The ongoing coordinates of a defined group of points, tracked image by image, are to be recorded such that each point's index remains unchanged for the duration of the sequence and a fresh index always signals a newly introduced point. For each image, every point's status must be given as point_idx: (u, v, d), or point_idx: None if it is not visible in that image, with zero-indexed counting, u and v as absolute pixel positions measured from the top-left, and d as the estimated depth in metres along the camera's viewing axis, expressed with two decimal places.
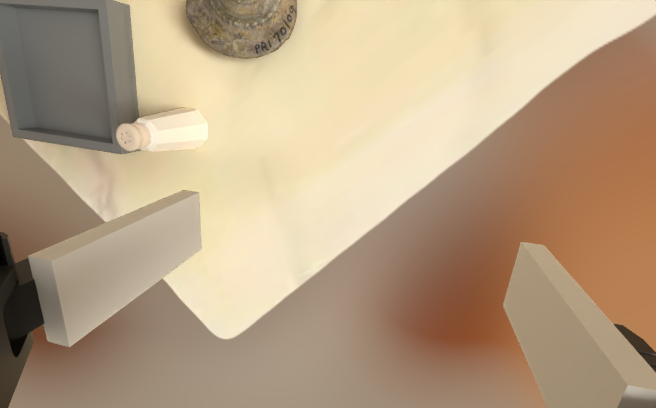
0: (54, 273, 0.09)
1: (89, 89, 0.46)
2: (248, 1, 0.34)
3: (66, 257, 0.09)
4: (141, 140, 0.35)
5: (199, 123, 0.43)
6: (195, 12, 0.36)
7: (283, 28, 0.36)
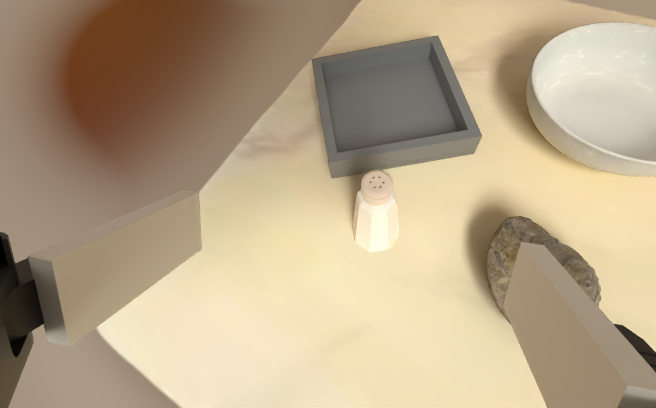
0: (54, 273, 0.09)
1: (380, 123, 0.45)
2: None
3: (66, 257, 0.09)
4: (378, 199, 0.30)
5: (388, 243, 0.37)
6: (517, 228, 0.34)
7: None
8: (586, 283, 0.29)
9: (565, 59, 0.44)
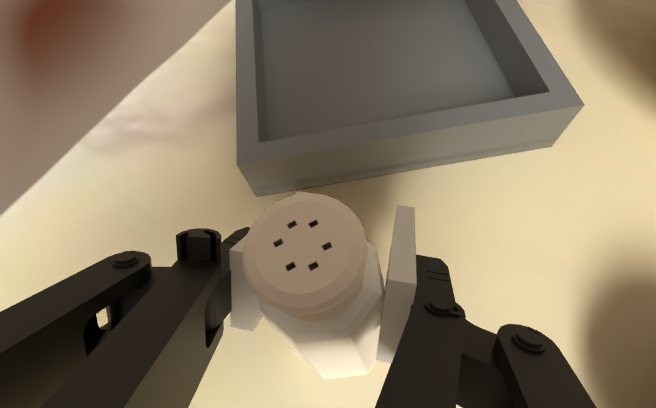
0: None
1: (358, 86, 0.23)
2: None
3: None
4: (305, 313, 0.07)
5: (368, 368, 0.15)
6: None
7: None
8: None
9: None
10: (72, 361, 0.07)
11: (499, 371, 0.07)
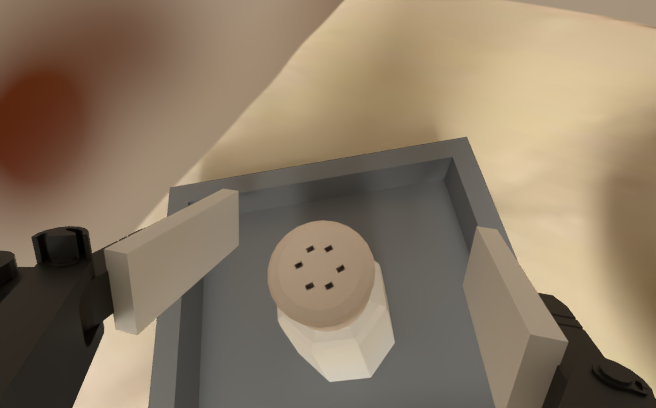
0: (128, 265, 0.10)
1: (320, 380, 0.17)
2: None
3: (137, 250, 0.10)
4: (321, 326, 0.09)
5: (371, 371, 0.16)
6: None
7: None
8: None
9: None
10: None
11: None
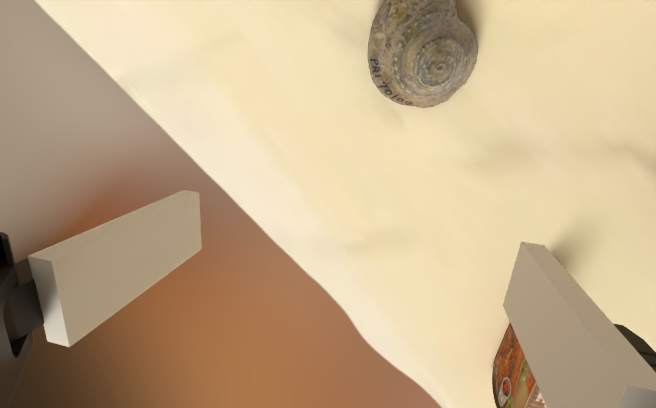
0: (54, 273, 0.09)
1: None
2: (416, 67, 0.31)
3: (66, 257, 0.09)
4: None
5: None
6: None
7: (390, 93, 0.35)
8: (440, 65, 0.30)
9: None
10: None
11: None
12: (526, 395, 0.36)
